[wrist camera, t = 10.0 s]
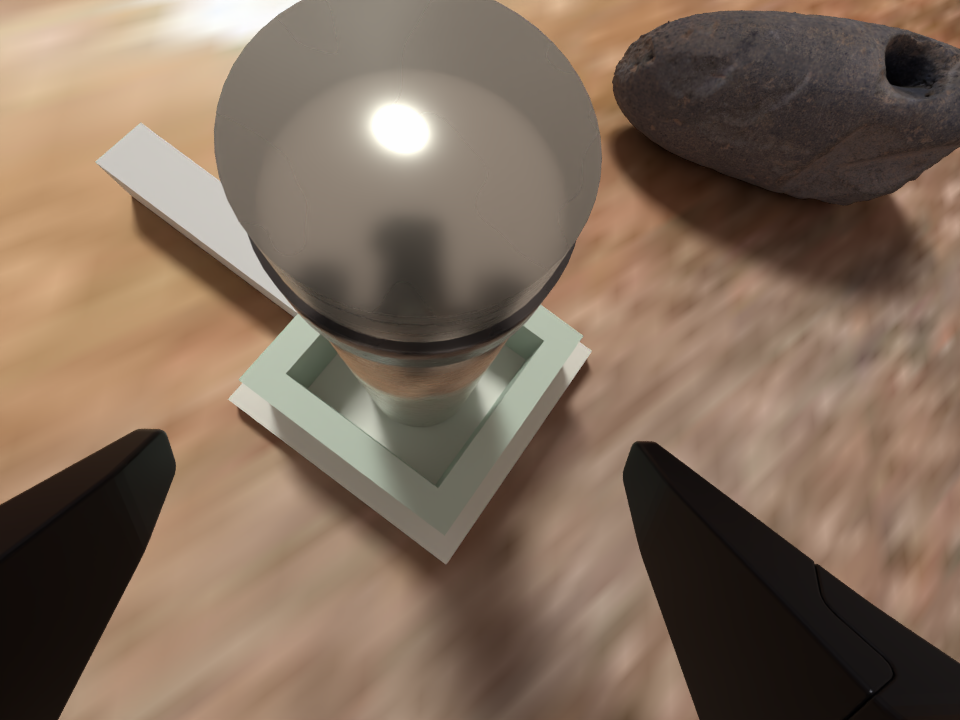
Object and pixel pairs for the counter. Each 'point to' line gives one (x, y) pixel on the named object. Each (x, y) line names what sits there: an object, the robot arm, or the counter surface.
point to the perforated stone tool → (795, 100)
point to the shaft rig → (338, 393)
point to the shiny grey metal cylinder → (409, 182)
